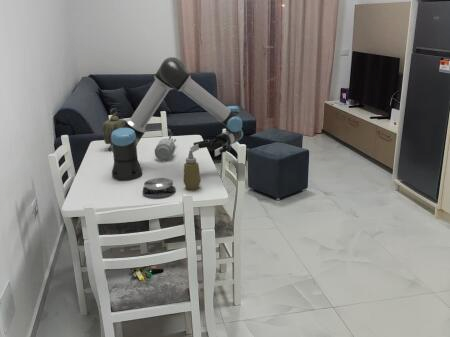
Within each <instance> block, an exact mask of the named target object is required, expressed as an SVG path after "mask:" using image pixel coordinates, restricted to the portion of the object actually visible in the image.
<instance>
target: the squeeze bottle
mask: <svg viewBox="0 0 450 337" xmlns="http://www.w3.org/2000/svg"><path fill="white" fill-rule="evenodd" d="M193 153H194V152H193ZM193 153H192V151H190V150H188V157H186V158H185V162H184V164H183V183H184V186H185V189H187V190H189V191H190V190H191V191H192V190H193V191H194V190H197V189H199V187H200V184H201V180H202V179H201V174H200V172H201V171H200V167H199V163H198V162H197V158H196V157H195V156H194V154H193Z"/></svg>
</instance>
